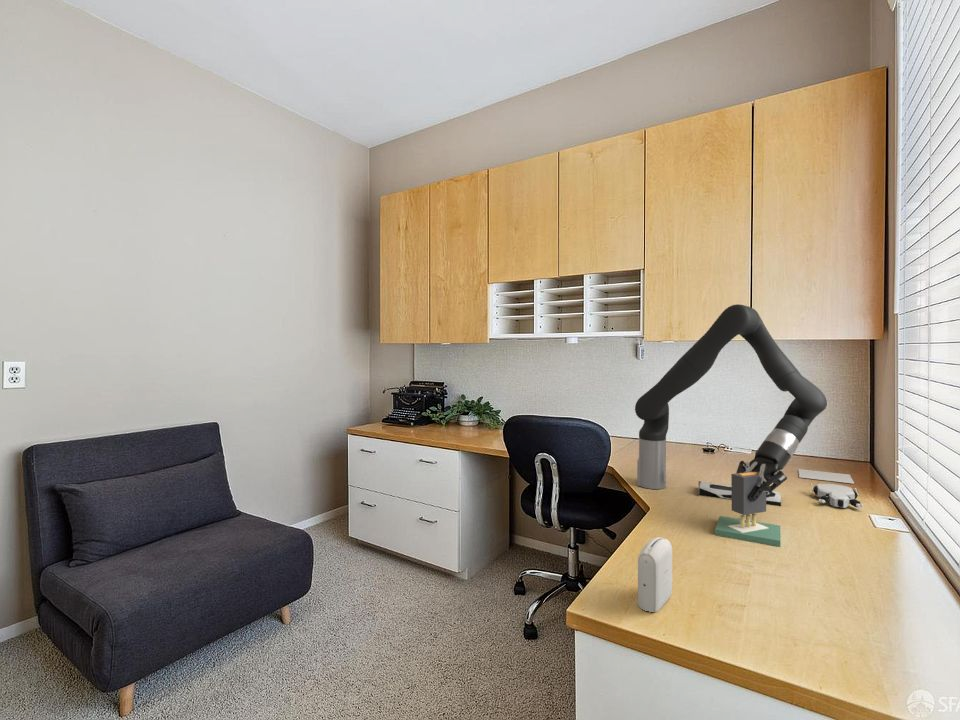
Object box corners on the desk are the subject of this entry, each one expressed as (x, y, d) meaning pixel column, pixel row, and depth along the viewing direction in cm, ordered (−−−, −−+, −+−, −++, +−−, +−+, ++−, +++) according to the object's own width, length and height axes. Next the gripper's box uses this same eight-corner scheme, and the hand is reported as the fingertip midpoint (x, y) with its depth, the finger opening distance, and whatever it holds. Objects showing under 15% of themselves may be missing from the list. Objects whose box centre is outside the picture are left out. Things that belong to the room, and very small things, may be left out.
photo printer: (656, 616, 92) (656, 552, 92) (634, 608, 95) (634, 546, 95) (674, 594, 100) (675, 535, 100) (654, 587, 103) (654, 530, 103)
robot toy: (865, 516, 146) (855, 498, 160) (866, 501, 146) (855, 485, 159) (816, 510, 152) (810, 493, 165) (817, 496, 152) (810, 480, 165)
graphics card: (698, 480, 173) (780, 489, 161) (698, 489, 173) (780, 500, 161) (695, 487, 164) (782, 498, 152) (695, 497, 164) (782, 509, 152)
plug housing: (743, 515, 129) (743, 476, 128) (731, 510, 132) (731, 472, 132) (766, 511, 131) (766, 473, 131) (753, 506, 135) (753, 470, 135)
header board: (715, 534, 131) (715, 516, 131) (719, 520, 141) (719, 503, 141) (780, 546, 123) (780, 527, 123) (780, 530, 133) (780, 512, 133)
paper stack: (858, 492, 167) (858, 490, 167) (773, 482, 181) (773, 480, 181) (849, 476, 187) (849, 474, 187) (774, 468, 200) (774, 466, 200)
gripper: (748, 435, 140) (714, 481, 137) (793, 444, 127) (758, 496, 123) (762, 452, 142) (729, 498, 139) (808, 463, 129) (774, 514, 125)
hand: (743, 497), depth 131 cm, fingers closed on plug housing, 4 cm apart
